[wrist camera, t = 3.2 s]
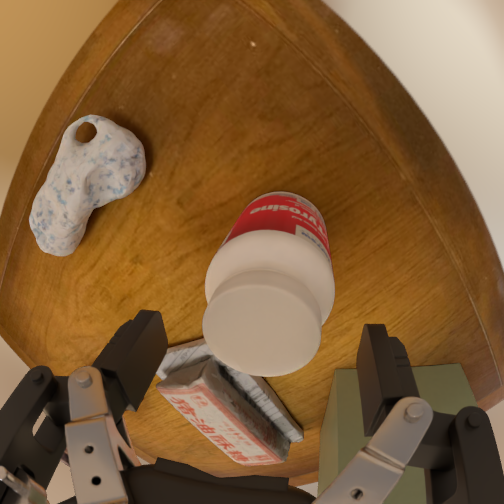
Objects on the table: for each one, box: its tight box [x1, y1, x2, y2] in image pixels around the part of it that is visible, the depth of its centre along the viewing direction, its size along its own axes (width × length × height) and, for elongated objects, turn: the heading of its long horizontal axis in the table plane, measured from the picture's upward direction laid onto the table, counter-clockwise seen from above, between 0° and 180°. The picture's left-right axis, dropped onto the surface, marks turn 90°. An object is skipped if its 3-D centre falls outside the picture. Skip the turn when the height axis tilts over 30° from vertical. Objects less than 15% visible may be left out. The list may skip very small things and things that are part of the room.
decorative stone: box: [29, 115, 146, 256], centre depth 20 cm, size 13×7×5 cm, turn 138°
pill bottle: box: [202, 192, 335, 377], centre depth 16 cm, size 6×6×11 cm
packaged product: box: [156, 338, 304, 466], centre depth 28 cm, size 18×5×10 cm
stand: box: [317, 363, 478, 504], centre depth 20 cm, size 14×12×16 cm
